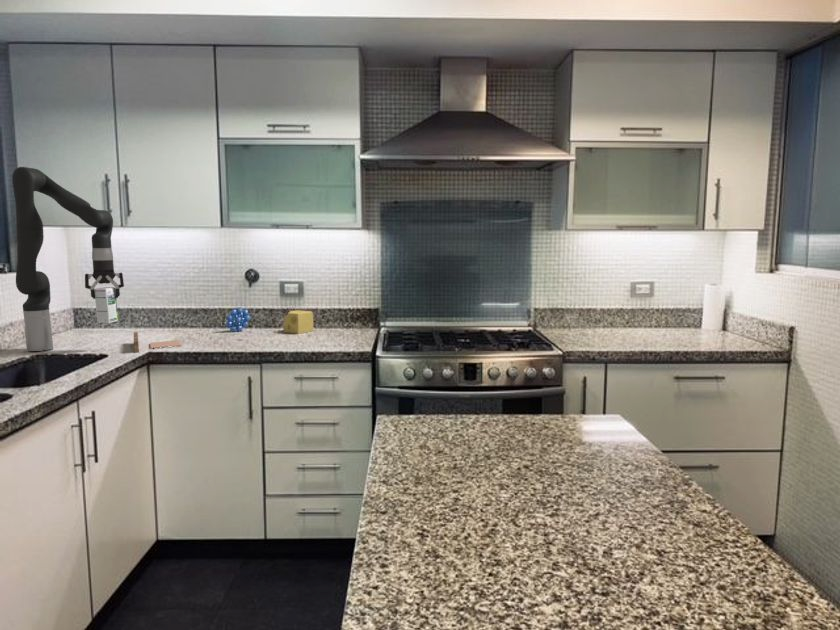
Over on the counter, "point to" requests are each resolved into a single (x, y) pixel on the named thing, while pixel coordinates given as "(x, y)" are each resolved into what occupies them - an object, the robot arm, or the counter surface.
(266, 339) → the counter surface
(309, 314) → the cheese
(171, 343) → the terracotta tile
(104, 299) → the syrup box
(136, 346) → the walnut wall
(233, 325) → the grapes
